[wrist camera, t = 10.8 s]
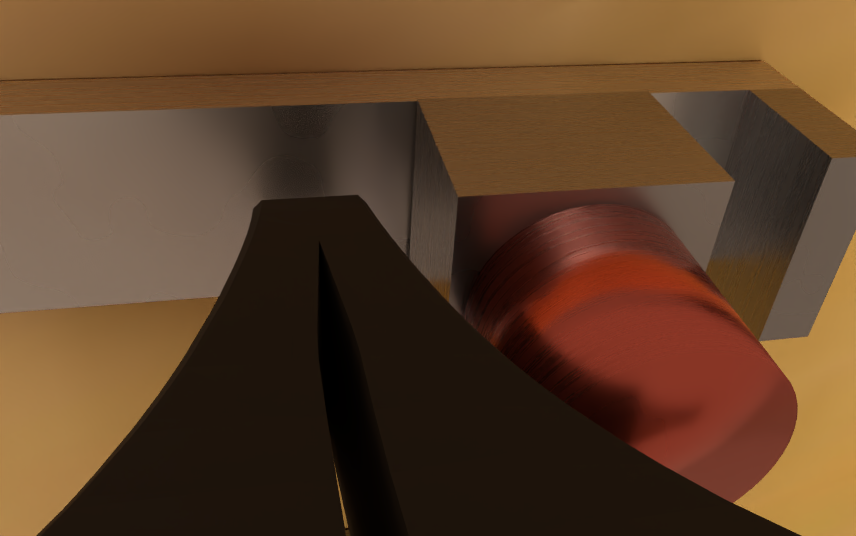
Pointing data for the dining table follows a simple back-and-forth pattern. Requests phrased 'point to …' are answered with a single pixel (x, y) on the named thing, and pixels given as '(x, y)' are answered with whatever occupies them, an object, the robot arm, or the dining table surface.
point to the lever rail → (376, 173)
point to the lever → (600, 271)
